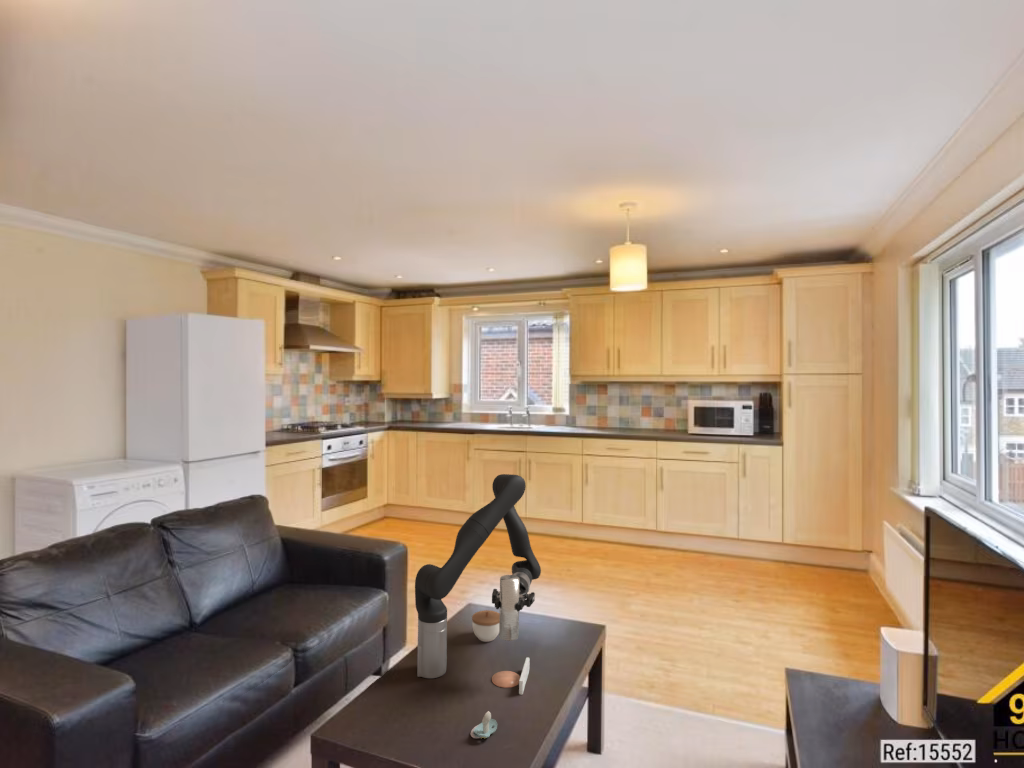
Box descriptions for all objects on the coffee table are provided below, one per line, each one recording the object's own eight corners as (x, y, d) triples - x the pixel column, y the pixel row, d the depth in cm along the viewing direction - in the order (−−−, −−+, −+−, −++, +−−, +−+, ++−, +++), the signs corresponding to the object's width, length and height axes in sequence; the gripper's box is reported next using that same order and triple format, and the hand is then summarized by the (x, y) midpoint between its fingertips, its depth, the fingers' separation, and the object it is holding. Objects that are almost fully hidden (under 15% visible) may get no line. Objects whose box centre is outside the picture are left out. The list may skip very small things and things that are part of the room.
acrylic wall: (522, 694, 161) (522, 681, 161) (519, 694, 161) (519, 680, 161) (529, 670, 175) (529, 657, 175) (526, 669, 175) (526, 657, 175)
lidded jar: (475, 629, 202) (475, 604, 202) (503, 632, 201) (503, 606, 201) (468, 643, 192) (469, 617, 192) (498, 646, 190) (499, 619, 190)
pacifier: (465, 738, 142) (484, 745, 138) (465, 713, 142) (483, 720, 139) (481, 723, 148) (500, 730, 145) (481, 700, 148) (499, 706, 145)
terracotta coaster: (493, 688, 164) (493, 687, 164) (490, 673, 173) (490, 672, 173) (523, 686, 165) (523, 685, 165) (517, 670, 174) (517, 669, 174)
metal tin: (500, 641, 165) (501, 582, 165) (497, 632, 171) (498, 575, 171) (520, 640, 166) (520, 581, 166) (516, 631, 172) (517, 574, 172)
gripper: (497, 573, 184) (485, 592, 167) (539, 577, 181) (531, 597, 165) (496, 596, 184) (484, 617, 167) (538, 600, 181) (530, 621, 165)
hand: (507, 607), depth 166 cm, fingers closed on metal tin, 6 cm apart
